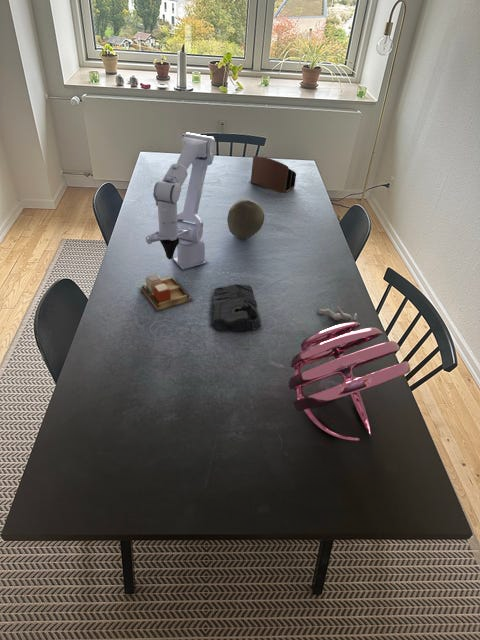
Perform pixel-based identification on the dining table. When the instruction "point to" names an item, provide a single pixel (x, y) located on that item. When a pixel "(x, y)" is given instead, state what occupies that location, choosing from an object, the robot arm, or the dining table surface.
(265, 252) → the dining table surface
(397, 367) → the pink slatted stand
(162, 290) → the red block with panel
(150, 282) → the cream panelled block
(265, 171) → the letter holder
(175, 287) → the divided wooden tray
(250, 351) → the dining table surface
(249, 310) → the dark slate chunk
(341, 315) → the soldier figure
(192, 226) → the robot arm
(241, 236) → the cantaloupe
